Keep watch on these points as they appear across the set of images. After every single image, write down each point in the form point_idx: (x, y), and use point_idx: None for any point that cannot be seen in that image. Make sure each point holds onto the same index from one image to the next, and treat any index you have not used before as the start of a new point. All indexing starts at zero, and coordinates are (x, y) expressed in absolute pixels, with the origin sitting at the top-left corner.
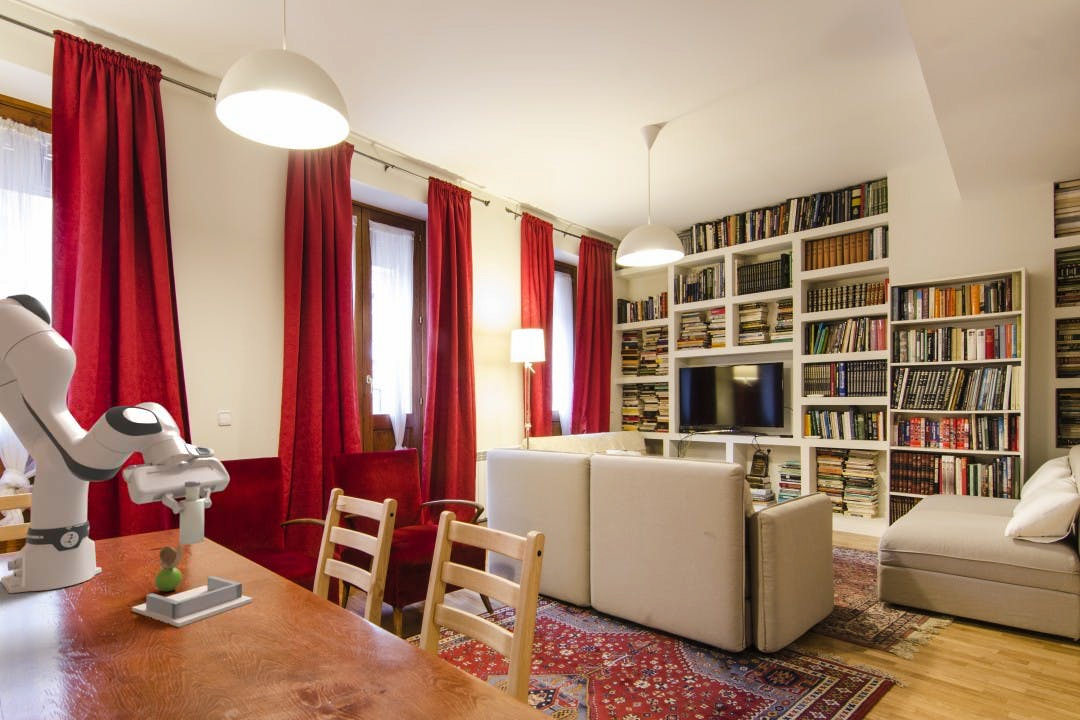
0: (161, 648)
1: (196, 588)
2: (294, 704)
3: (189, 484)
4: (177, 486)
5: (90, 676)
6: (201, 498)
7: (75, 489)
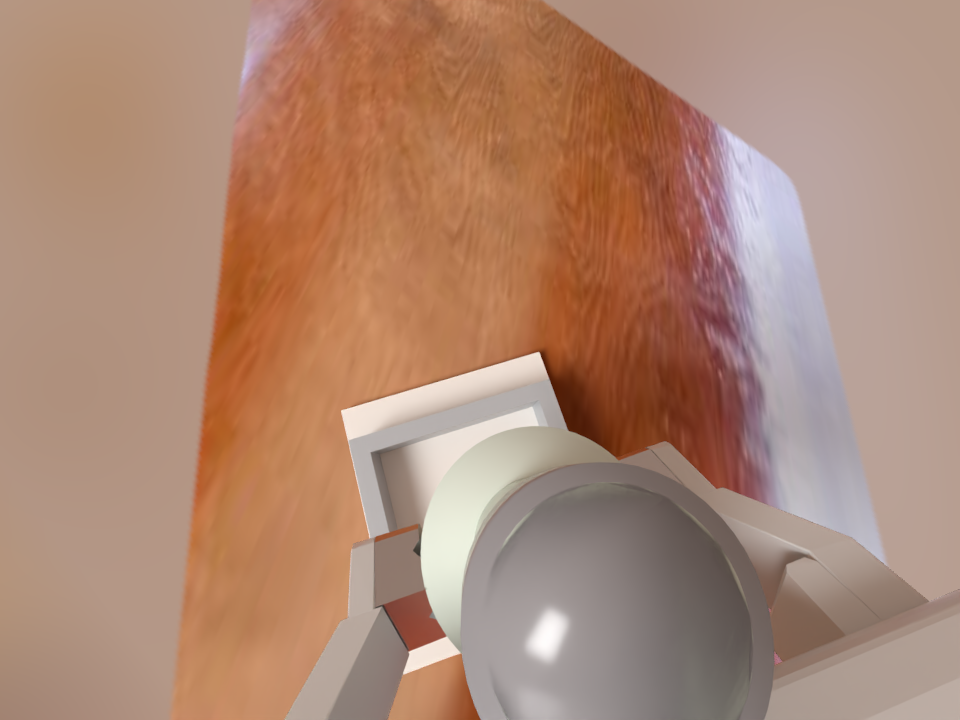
0: (583, 258)
1: (435, 656)
2: None
3: (673, 489)
4: (842, 714)
5: (697, 219)
6: (436, 601)
7: None
